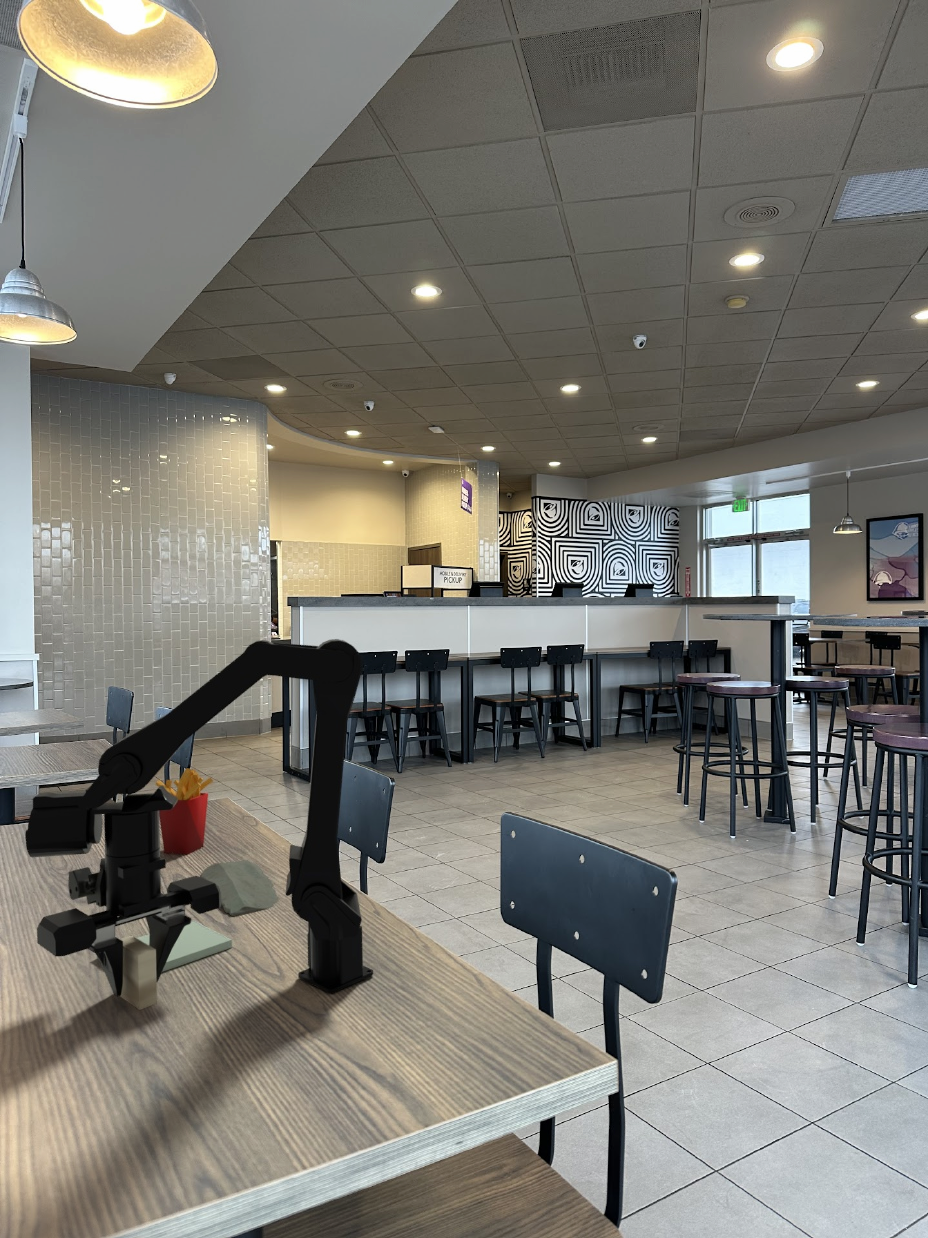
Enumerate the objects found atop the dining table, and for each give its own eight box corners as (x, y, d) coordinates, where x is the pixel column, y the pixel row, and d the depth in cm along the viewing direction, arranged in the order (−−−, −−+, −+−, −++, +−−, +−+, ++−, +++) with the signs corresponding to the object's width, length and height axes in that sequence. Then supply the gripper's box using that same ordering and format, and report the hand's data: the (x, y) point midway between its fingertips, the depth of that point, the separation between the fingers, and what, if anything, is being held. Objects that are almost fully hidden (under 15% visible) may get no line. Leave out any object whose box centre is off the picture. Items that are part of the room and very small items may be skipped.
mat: (232, 947, 104) (231, 939, 104) (132, 982, 95) (132, 974, 95) (193, 927, 111) (193, 920, 111) (97, 958, 102) (97, 950, 102)
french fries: (156, 854, 146) (154, 771, 146) (184, 841, 154) (183, 762, 154) (198, 857, 143) (196, 773, 143) (225, 844, 151) (223, 764, 151)
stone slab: (255, 874, 139) (195, 876, 134) (257, 858, 139) (197, 859, 134) (292, 919, 119) (223, 923, 114) (294, 900, 119) (225, 903, 115)
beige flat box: (157, 1003, 90) (156, 949, 90) (139, 1010, 88) (138, 955, 88) (133, 987, 94) (131, 935, 94) (115, 993, 92) (114, 940, 92)
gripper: (176, 821, 103) (178, 943, 103) (17, 855, 90) (20, 996, 90) (222, 837, 96) (225, 969, 96) (55, 876, 82) (59, 1030, 82)
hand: (135, 988), depth 91 cm, fingers open, 4 cm apart
